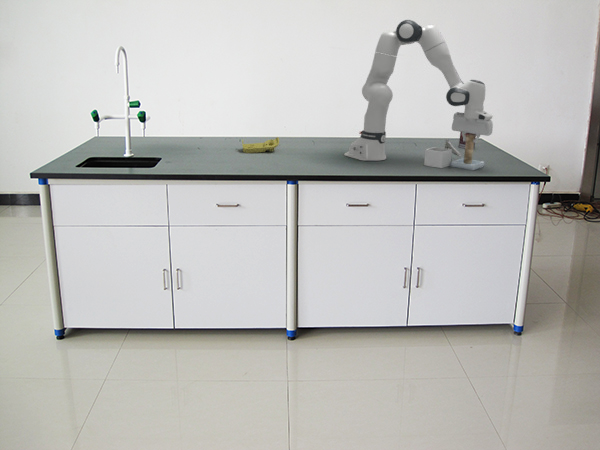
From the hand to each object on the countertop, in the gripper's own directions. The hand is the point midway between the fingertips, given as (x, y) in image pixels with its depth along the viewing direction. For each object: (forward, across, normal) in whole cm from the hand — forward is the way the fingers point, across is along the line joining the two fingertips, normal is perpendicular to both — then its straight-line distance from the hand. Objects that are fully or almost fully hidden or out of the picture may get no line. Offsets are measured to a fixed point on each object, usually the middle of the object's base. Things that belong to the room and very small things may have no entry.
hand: (470, 142), depth 300 cm
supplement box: (+13, -22, +43) cm, 50 cm away
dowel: (+11, 0, 0) cm, 11 cm away
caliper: (+13, -22, +26) cm, 36 cm away
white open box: (+12, -12, -9) cm, 19 cm away
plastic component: (+13, -96, -52) cm, 109 cm away
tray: (+12, 0, 0) cm, 12 cm away
